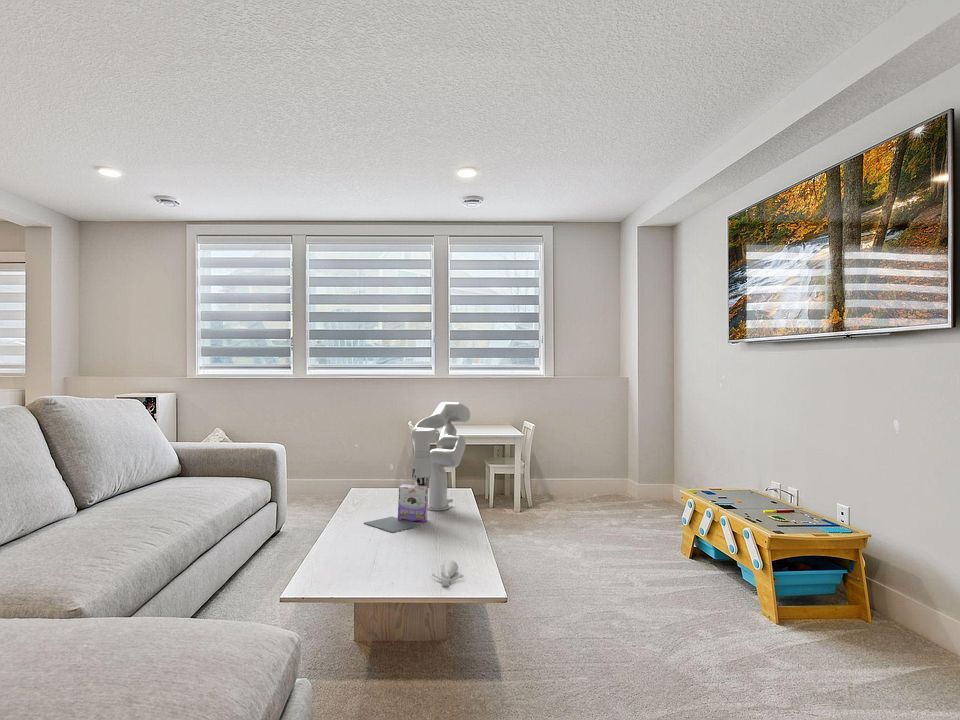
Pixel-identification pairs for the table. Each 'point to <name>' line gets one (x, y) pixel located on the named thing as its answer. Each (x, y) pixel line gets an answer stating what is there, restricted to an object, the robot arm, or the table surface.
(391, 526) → the mat
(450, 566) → the grey legged figure
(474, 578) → the table surface
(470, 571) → the table surface
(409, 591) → the table surface
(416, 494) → the candy box
